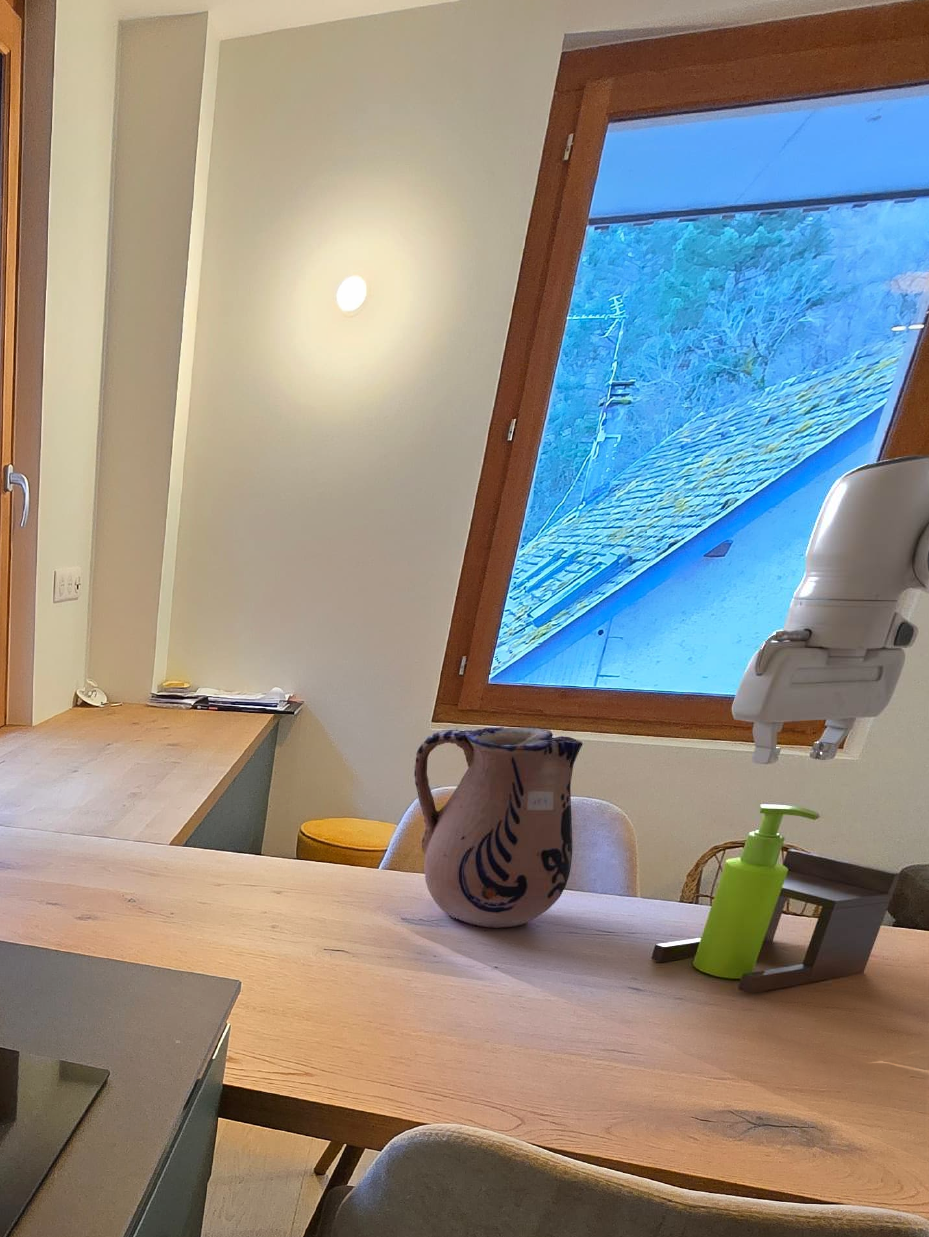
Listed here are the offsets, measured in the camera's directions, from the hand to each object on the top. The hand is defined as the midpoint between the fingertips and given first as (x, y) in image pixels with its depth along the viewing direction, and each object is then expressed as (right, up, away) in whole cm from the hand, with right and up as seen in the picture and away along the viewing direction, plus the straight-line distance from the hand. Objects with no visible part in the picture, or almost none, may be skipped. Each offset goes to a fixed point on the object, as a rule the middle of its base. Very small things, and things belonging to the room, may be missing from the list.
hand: (792, 761), depth 115 cm
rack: (+5, -22, +11) cm, 26 cm away
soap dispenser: (0, -23, +10) cm, 25 cm away
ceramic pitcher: (-21, -15, +29) cm, 39 cm away
